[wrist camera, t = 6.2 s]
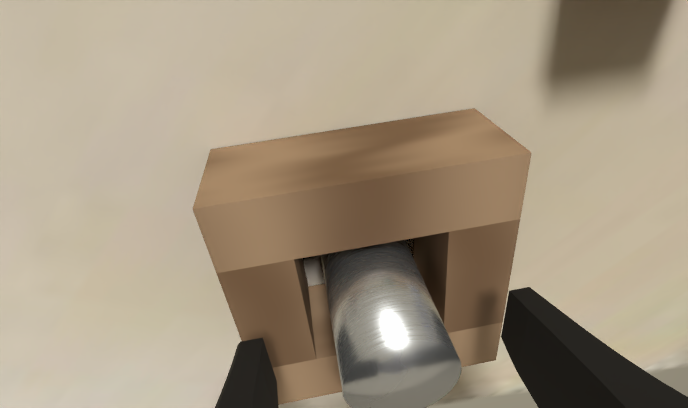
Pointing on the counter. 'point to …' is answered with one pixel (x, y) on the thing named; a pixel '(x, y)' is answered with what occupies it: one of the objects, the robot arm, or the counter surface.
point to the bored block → (363, 230)
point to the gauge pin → (387, 329)
